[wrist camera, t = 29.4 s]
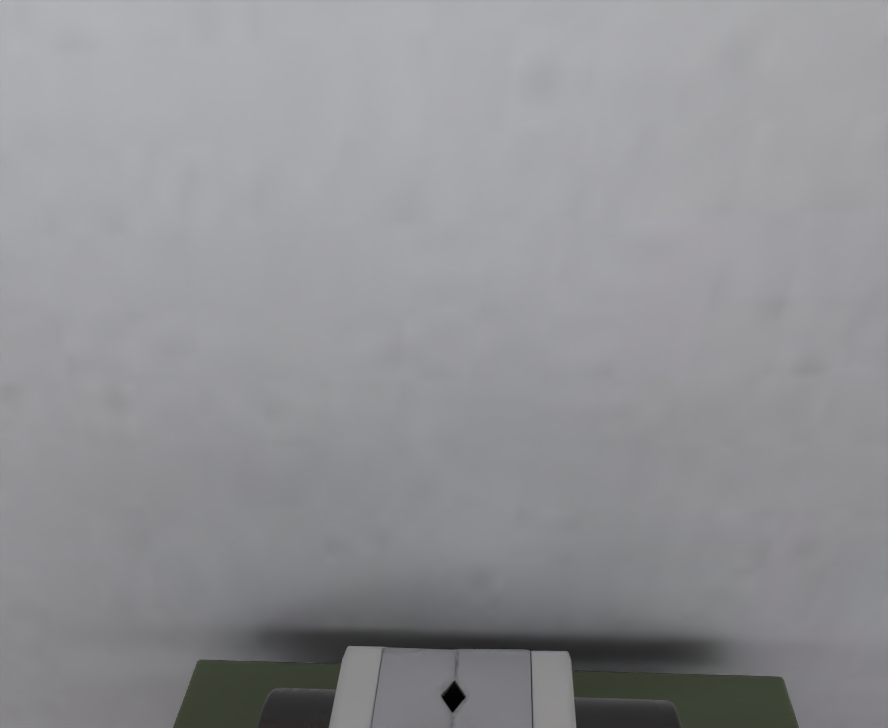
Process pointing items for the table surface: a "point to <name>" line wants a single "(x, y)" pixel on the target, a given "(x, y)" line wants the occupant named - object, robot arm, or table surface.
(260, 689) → the drawer
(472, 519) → the table surface
